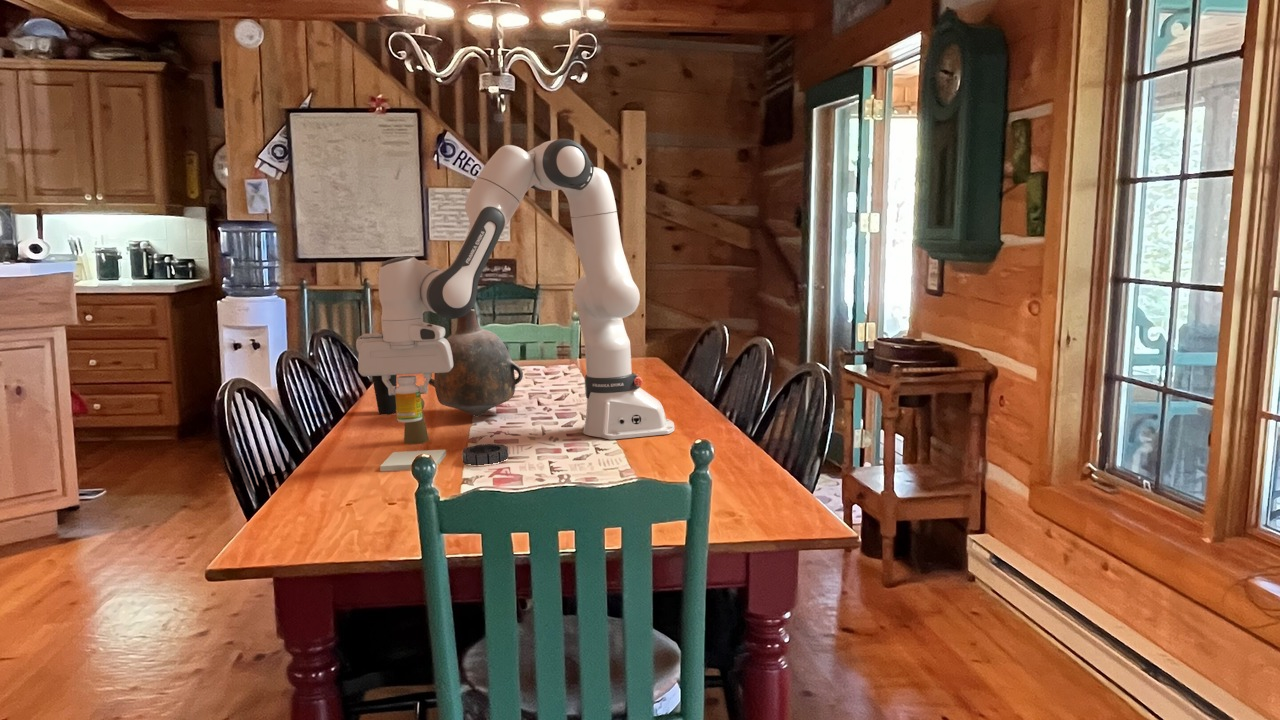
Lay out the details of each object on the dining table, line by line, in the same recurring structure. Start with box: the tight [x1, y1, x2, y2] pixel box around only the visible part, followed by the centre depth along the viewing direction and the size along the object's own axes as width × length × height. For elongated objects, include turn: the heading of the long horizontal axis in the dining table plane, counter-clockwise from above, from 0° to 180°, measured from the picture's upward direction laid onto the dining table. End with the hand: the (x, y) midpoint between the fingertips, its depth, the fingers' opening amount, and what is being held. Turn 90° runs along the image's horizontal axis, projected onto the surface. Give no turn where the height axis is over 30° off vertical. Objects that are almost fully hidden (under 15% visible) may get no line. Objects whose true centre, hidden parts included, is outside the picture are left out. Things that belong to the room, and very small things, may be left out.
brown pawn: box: [403, 397, 430, 445], centre depth 223 cm, size 6×6×11 cm
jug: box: [428, 308, 524, 417], centre depth 248 cm, size 24×21×30 cm
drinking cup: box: [371, 375, 398, 415], centre depth 259 cm, size 8×8×20 cm
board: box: [379, 449, 447, 472], centre depth 203 cm, size 12×12×1 cm
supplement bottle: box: [395, 375, 423, 423], centre depth 201 cm, size 5×5×10 cm
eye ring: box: [461, 443, 509, 465], centre depth 203 cm, size 10×10×2 cm
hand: (408, 394), depth 201 cm, fingers closed on supplement bottle, 5 cm apart
